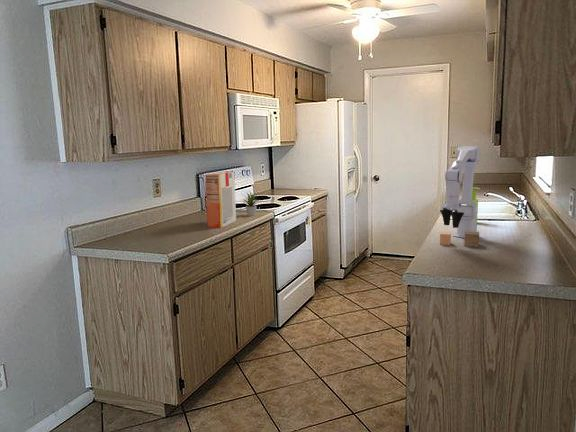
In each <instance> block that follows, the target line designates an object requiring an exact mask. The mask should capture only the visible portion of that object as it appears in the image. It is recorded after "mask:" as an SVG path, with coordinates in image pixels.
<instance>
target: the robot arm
mask: <svg viewBox="0 0 576 432" xmlns="http://www.w3.org/2000/svg"><path fill="white" fill-rule="evenodd" d="M456 158H457V159H456V160H454V161H453V163H452V164H451V165H450V166H451V167H450V168H449V169H448V170H447V169H446V170H445V174H444V179H445V188H446V189H445V204H441V209H440V210H439V212H440V214H441V216H442V217H441V218H442V220H443V225H444V226H450V224H451V220H452V228H453V229H455V228H456V234H453V235H452V236H453V237H458V238H461V239H465V231H474V232H478V230H477V229H478V221H477V222H476V220H475V218H476V216H477V217H478V212H477V203H476V202H475V201H474V200H472V189H473V186H474V176H475V169H476V166H477V165H478V164H480V161H481V160H480V159H481V148H480V146H478V145H477V146H476V145H474V146H473V145H472V146H471V145H469V146H465V145H464V146H460V145H459V146H458V147H457V149H456ZM461 182H462V189H461ZM460 190H461V191H460ZM460 192H461V198H460ZM468 205H472V206H468Z"/></svg>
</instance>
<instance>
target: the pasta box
mask: <svg viewBox="0 0 576 432" xmlns="http://www.w3.org/2000/svg"><path fill="white" fill-rule="evenodd" d="M204 176H205V177H204V178H205V179H204V181H205V198H206V199H205V200H206V218H207V219H206V221H207V228H217V229H221V228H223V227H226V226H228V225H230V224H232V223H235V222H236V221H237V209H236V206H237V205H236V184H235V183H236V181H235V171H233V170H232V171H224V170H223V171H218V172H217V171H216V172H211V173H207V174H204Z"/></svg>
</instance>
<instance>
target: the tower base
mask: <svg viewBox="0 0 576 432" xmlns="http://www.w3.org/2000/svg"><path fill="white" fill-rule="evenodd" d="M463 239H464V242H463V247H472V246H474V247H475V248H477V247H479V243H480V240H479V241H471V240H465V238H463Z"/></svg>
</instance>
